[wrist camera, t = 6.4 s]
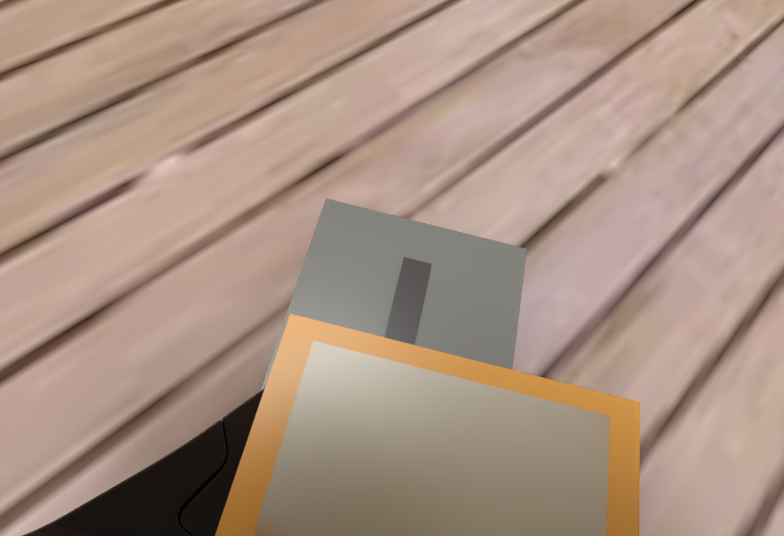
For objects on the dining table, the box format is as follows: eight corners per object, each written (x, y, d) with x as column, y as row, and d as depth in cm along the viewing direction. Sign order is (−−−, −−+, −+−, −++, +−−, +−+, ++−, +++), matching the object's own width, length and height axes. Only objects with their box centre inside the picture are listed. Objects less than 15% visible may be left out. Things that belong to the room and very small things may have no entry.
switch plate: (469, 554, 14) (487, 579, 12) (238, 494, 14) (217, 510, 12) (509, 264, 18) (528, 247, 16) (329, 219, 18) (325, 195, 16)
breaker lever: (423, 474, 13) (637, 717, 3) (321, 448, 13) (192, 605, 3) (437, 401, 14) (641, 402, 4) (340, 377, 14) (289, 314, 4)
